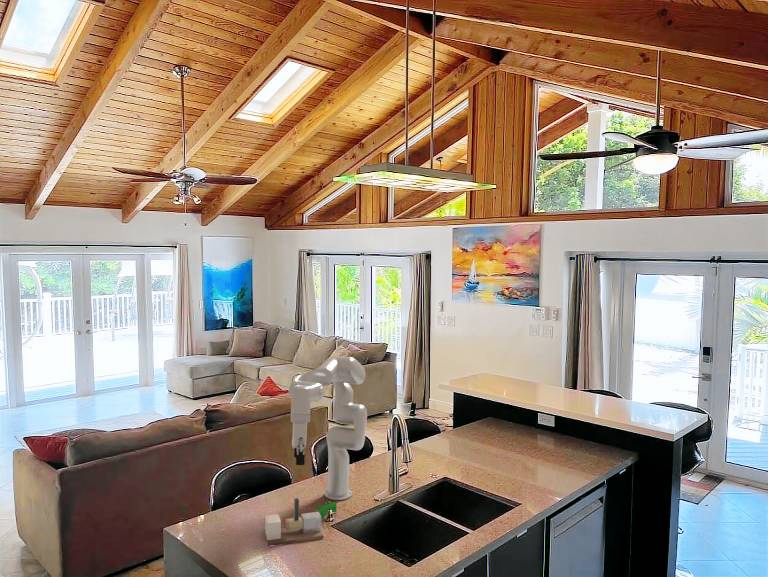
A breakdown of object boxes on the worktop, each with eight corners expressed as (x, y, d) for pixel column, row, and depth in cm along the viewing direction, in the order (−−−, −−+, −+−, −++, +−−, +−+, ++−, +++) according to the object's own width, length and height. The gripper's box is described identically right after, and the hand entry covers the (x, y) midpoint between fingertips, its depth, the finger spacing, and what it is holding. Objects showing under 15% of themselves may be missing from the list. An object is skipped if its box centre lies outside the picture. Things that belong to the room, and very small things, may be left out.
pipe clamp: (329, 510, 249) (329, 500, 249) (336, 512, 247) (336, 502, 247) (312, 519, 240) (312, 508, 240) (319, 522, 238) (319, 511, 238)
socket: (265, 531, 225) (265, 515, 225) (277, 530, 227) (278, 514, 227) (267, 540, 219) (267, 523, 218) (280, 538, 220) (280, 521, 220)
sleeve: (301, 528, 229) (301, 513, 228) (318, 526, 231) (318, 511, 231) (303, 533, 224) (303, 519, 224) (321, 531, 226) (321, 516, 226)
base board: (264, 532, 228) (264, 529, 228) (316, 525, 234) (316, 522, 234) (268, 546, 216) (268, 543, 216) (323, 538, 223) (323, 535, 223)
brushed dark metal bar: (285, 526, 226) (285, 499, 225) (317, 522, 230) (318, 495, 229) (286, 530, 223) (286, 502, 222) (319, 525, 227) (319, 498, 227)
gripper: (289, 412, 233) (288, 454, 233) (292, 422, 216) (290, 468, 216) (308, 412, 234) (306, 454, 235) (312, 422, 218) (310, 467, 218)
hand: (299, 460), depth 225 cm, fingers open, 9 cm apart
